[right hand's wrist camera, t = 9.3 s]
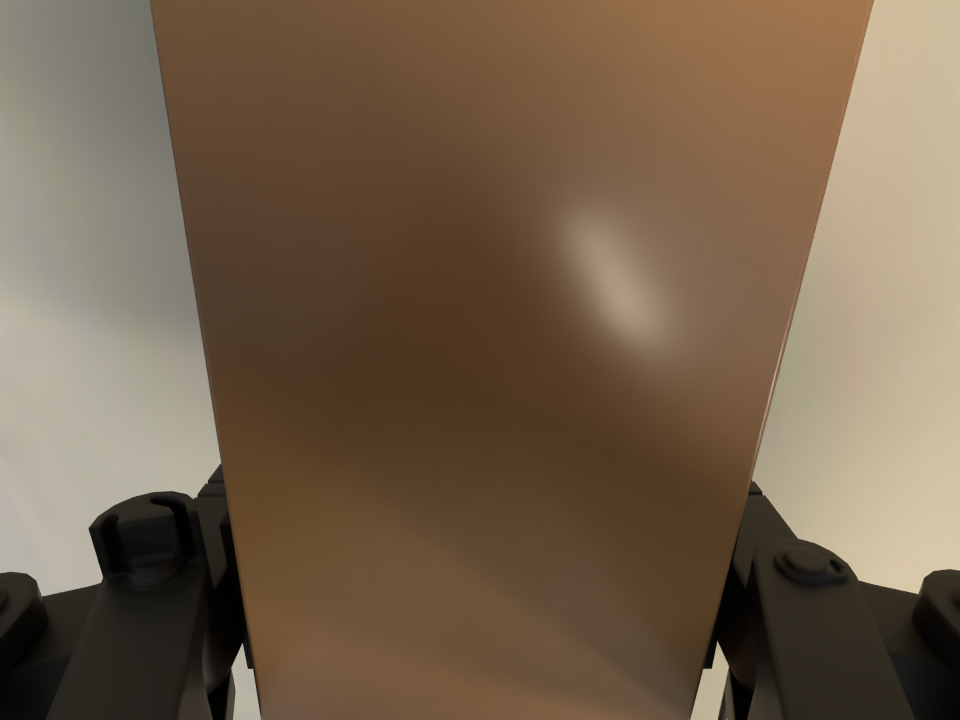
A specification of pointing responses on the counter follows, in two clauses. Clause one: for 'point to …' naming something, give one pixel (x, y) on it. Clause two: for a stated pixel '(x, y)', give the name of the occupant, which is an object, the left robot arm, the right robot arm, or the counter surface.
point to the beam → (495, 329)
